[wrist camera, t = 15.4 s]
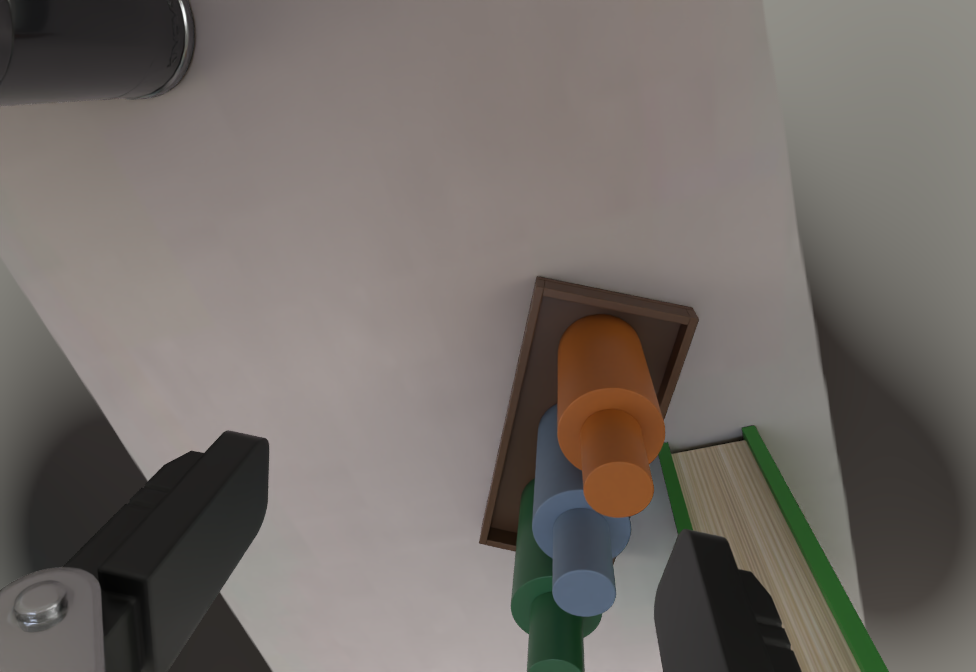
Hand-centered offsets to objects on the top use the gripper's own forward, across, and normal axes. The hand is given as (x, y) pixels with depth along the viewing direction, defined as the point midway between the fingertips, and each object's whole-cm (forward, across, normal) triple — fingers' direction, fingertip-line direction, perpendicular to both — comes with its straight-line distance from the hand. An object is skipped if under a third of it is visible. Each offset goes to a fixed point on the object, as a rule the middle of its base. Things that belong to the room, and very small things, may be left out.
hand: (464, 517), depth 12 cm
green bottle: (+32, -7, +24) cm, 40 cm away
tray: (+32, -7, +17) cm, 37 cm away
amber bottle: (+32, -7, +10) cm, 34 cm away
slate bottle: (+32, -7, +17) cm, 36 cm away
